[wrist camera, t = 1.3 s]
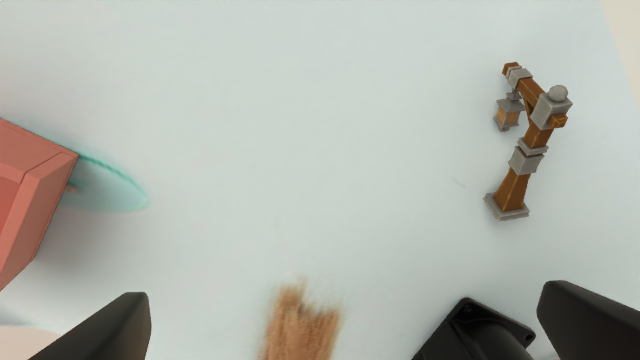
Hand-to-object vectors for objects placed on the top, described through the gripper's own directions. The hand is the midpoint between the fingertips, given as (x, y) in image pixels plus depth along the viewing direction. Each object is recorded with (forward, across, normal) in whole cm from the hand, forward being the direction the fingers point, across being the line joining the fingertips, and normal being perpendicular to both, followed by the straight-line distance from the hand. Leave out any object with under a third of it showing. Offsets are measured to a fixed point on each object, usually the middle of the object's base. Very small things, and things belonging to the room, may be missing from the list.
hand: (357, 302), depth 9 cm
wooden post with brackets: (+13, -10, 0) cm, 16 cm away
